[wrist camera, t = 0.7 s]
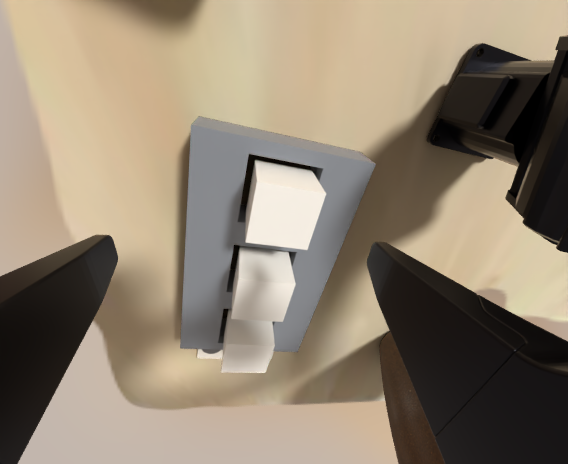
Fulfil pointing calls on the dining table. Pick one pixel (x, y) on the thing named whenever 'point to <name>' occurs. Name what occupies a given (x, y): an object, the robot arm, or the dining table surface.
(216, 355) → the pattern card
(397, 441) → the plant pot
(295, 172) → the button
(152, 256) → the dining table surface
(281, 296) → the button middle
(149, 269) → the dining table surface
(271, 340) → the button
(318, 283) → the button board
